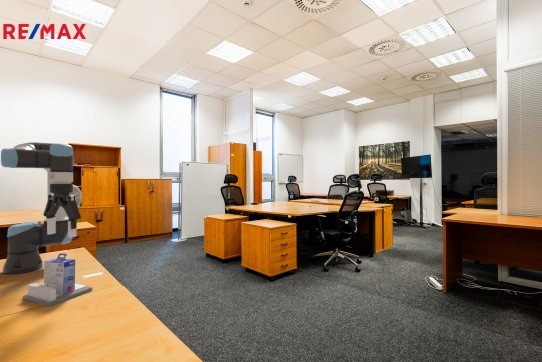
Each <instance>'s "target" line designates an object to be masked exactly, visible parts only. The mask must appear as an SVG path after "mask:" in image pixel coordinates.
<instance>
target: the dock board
mask: <svg viewBox="0 0 542 362" xmlns="http://www.w3.org/2000/svg"><path fill="white" fill-rule="evenodd" d="M92 291H93V287H92V286H88V285H85V284H80V283H76V282H75V290H72V291H69V292H67V293H64V294H58V293H56V289H55V288H51V287H47V286H43V284H40V283H39V284H38V283H35V282H33V283H32V282H31V283H29V284H27V294H24V295H22V299H23V300H25V301H28V302H31V303H35V304H39V305H42V306H45V307H51V306H54V305H57V304H60V303H62V302H65V301H67V300H70V299H72V298H76V297H78V296H81V295H84V294H86V293H88V292H92Z"/></svg>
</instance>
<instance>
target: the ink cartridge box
mask: <svg viewBox="0 0 542 362" xmlns="http://www.w3.org/2000/svg"><path fill="white" fill-rule="evenodd" d="M67 255H68V254H67V253H63V252H59V253H58V255H57V257H56V258H52V259H48V260H44V261H43V284H42V285H43V286H47V287H51V288H55V289H56V293H58V294H64V293H67V292H69V291H72V290H75V283H76V259H73V258H66V257H67ZM62 256H63V257H62Z"/></svg>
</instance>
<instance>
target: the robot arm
mask: <svg viewBox="0 0 542 362" xmlns="http://www.w3.org/2000/svg"><path fill="white" fill-rule="evenodd" d="M73 149H74V148H73V146H72V145H69V144H64V143H54V142H53V143H49V142H32V141H31V142H26V143H24V142H23V143H20V144H17V145H15V146H13V148H3V149H1V150H0V164H1V166H2V167H3V168H10V169H19V168H20V169H44V170H45V172H46V173H47V189H46V190H47V200H46V204H45V208H44V212H43V217H45V219H43V223H39V221H28V222H23V223H18V224H14V225H11V226H9V227H8V229H7V235H6V238H7V257H6V260H5V261H4V264H3V267H2V273H3V274H4V273H6V275H12V274H13V275H15V274H17V275H18V274H23V273H29V272H33V271H36V270H39V269H41V268H43V267H44V261H43V259H42V257H41V255H40V252H39V247H47V246H56V245H60V246H61V245H64V244H69V243H71V242H72V240H73V238H75V237H77V225H78V223H77V222H78V220H81V218H82V217H81V216H82V215H81V213H80V210H79V207H78V203H77V200H76V199H77V197H76V195H75V194H73V195H70V194H71V193H73V192H74V184H73V182H74V170H73V169H74V167H73V166H75V159H74V150H73ZM42 266H43V267H42Z"/></svg>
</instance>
